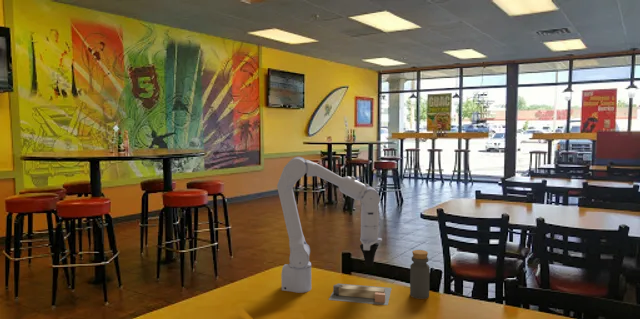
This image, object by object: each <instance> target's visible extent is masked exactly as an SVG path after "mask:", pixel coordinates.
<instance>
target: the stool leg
mask: <svg viewBox="0 0 640 319" xmlns="http://www.w3.org/2000/svg"><path fill="white" fill-rule="evenodd" d="M340 284H341V283H336V284H333V288H332V289H333V290H332V293H333V294H334V295H340V296H351V297H362V298H373V299H375V292H378V293H385V288H376V287H377V286H374V287H364V286H365V285H362V286H352V285H353V284H350V285H340Z"/></svg>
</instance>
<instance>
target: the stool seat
mask: <svg viewBox="0 0 640 319" xmlns="http://www.w3.org/2000/svg"><path fill="white" fill-rule="evenodd" d="M339 284H340V285H352V286H364V287H376V288H385V303H381V302H375V299H373V298H362V297H351V296H340V295H334V294H333V292H331V294H330V296H329V298H328V301H337V302H338V301H339V302H348V303H356V304H357V303H359V304H368V305H369V304H370V305H381V306H388V305H389V301H390V297H391V294H392V293H391V292H392V287H384V286H373V285H372V286H370V285H359V284H350V283H349V284H347V283H339Z"/></svg>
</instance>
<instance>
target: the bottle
mask: <svg viewBox="0 0 640 319" xmlns="http://www.w3.org/2000/svg"><path fill="white" fill-rule="evenodd" d="M428 254H429V252H428V251H427V250H423V249H415V250H412V255H411V261H412V263H411V264H410V271H409V272H410V273H409V275H410V276H409V280H410V281H409V282H410V283H409V286H410V287H409V293H410V294H409V295H410V296H411V298H414V299H419V300H423V299H428V298H429V297H430V272H431V271H430V265H429V264H428V262H429V257H428Z"/></svg>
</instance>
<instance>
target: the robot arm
mask: <svg viewBox="0 0 640 319" xmlns="http://www.w3.org/2000/svg"><path fill="white" fill-rule="evenodd" d="M305 175H306V177H307V178H309V177H310V178H311V177H318V178H320V179H322V180H324V181H326V182H329V183H331V184H332V185H335V186H337V188H338V190H339V192H341V193H342V194H343V195H345V196H347V197H350V198H352V199H354V200H355V201H361V210H360V238H359V242H360V243H361V244H360V245H359V247H360V248H359V249H360V251H361V252H362V255H363V259H364V263H365V264H364V265H365V267H367V268H370V267H371V268H373V266H374V263H375V262H374V261H375V256H376V252H377V250H378V248H379V243H380V242H383V238H381V237H379V225H380V224H379V219H380V218H379V216H380V215H379V214H380V212H379V204H380V202H381V198H380V195H379V194H380V193H379V192H378V191H377V189H375V188H374V187H372V186H370V185H369V184H368V183H363V182H361V181H359V180H357V179H356V177H355V176H353V175H351V176H349V175H347V176H346V175H345V176H343V177H342V176H340V175H338V174H337V173H335V172H333V171H331V170H330V169H328V168H326V167H324V166H322V165H321V164H319V163H316V162H314V161H312V160H309V159H305V158H304V157H302V156H295V157H292V158H291V159H290V160H289V161H288V162H287V163H286V165H285V166H284V167H283V168H282V172H281V175H280V177H279V179H278V182H277V184H276V188H277V192H278V197H279V200H280V204H281V209H282V213H283V219H284V223H285V228H286V232H287V235H288V240H289V241H288V246H289V253H290V254H289V263H287V264H286V263H285V264H284V265H283V266H282V269H281V274H280V275H281V291H286V292H293V293H297V294H298V293H299V294H300V293H302V294H303V293H307V292H310V291H311V290H312V262H311V261H310V255H311V247H310V245H309V244H308V243H307V242H306V238H305V236H304V232H303V227H302V224H301V219H300V214H299V210H298V206H297V202H296V197H295V193H294V188H293V187H295V185H296V184H297V182H298V181H299V180H301V179H302V178H303V177H304V176H305Z"/></svg>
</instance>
